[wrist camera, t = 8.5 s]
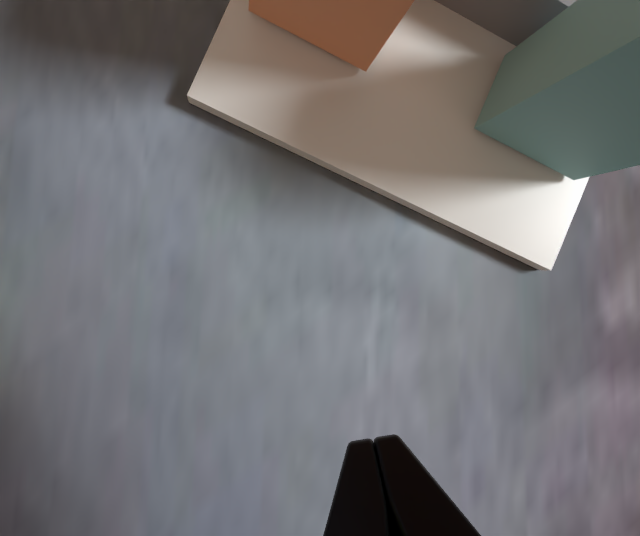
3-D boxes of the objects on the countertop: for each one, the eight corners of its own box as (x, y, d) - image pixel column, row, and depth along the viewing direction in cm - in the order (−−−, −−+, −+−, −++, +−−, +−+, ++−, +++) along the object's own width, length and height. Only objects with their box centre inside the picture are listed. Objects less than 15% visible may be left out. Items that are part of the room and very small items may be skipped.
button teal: (568, 192, 19) (851, 135, 10) (468, 140, 18) (679, 32, 9) (607, 98, 19) (916, -36, 10) (509, 43, 18) (753, -150, 10)
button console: (538, 269, 20) (608, 272, 16) (189, 102, 18) (175, 60, 14) (613, 88, 20) (698, 49, 17) (281, -100, 18) (292, -194, 14)
